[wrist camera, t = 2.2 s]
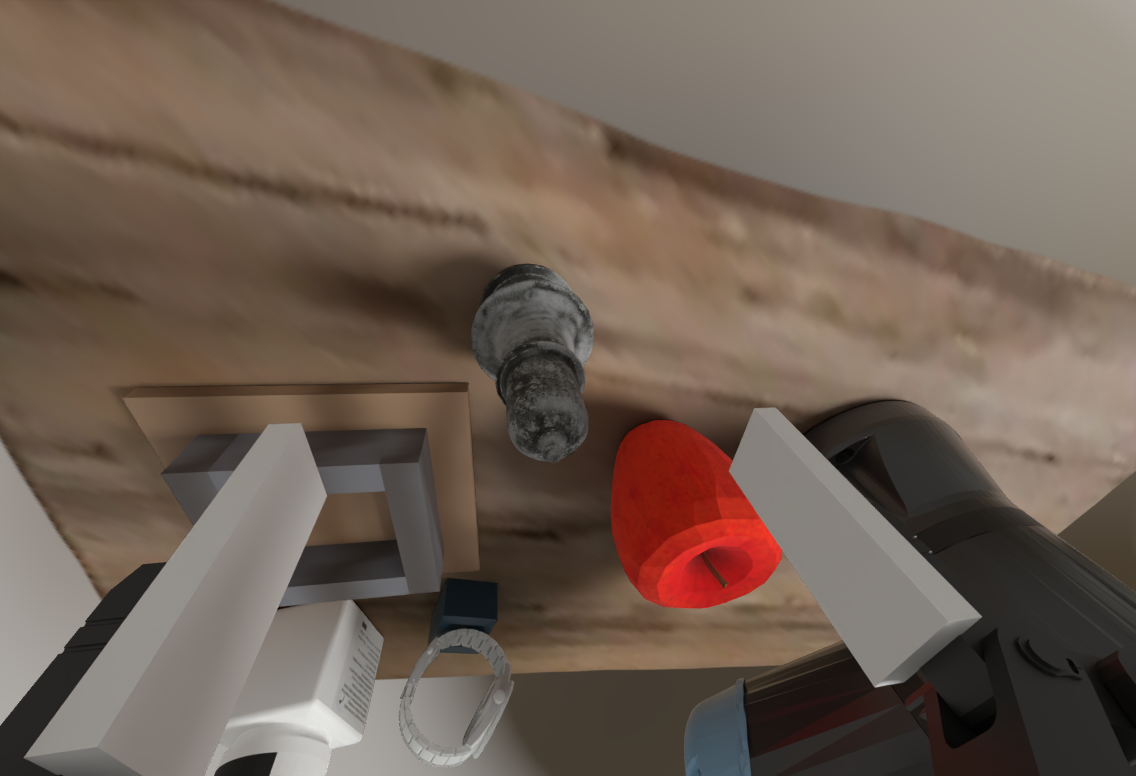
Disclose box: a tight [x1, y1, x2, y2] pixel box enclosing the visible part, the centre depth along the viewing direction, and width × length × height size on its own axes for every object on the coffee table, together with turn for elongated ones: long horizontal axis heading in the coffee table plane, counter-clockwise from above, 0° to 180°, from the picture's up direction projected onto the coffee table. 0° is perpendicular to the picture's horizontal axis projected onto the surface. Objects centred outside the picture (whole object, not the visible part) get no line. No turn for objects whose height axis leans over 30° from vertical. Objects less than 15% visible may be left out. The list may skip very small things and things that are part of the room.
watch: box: [399, 578, 514, 768], centre depth 31 cm, size 6×8×11 cm
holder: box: [122, 383, 480, 607], centre depth 25 cm, size 17×17×4 cm
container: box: [214, 600, 384, 776], centre depth 29 cm, size 8×8×13 cm
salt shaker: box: [471, 264, 594, 463], centre depth 17 cm, size 6×6×12 cm
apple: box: [611, 420, 782, 608], centre depth 24 cm, size 9×9×11 cm
